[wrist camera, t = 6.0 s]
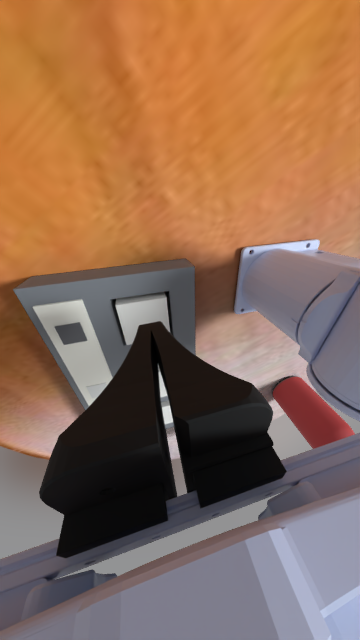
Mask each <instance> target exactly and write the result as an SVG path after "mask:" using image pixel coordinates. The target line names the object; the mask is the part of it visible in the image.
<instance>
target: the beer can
mask: <svg viewBox="0 0 360 640" xmlns="http://www.w3.org/2000/svg"><path fill="white" fill-rule="evenodd" d="M273 397H274V399H275V400H276V401H277V402H278V404H279V405H280V406H281V408H282V409H283V410H284V412H285V413H286V414H287V416H288V417H289V418H290V419H291V421H292V422H293V423H294V425H295V426H296V427H297V428H298V430H299V431H300V433H301V434H302V435H303V436H304V438H305V439H306V440H307V442H308V443H309V444H310V446H311V447H312V448H313V449H315V448H318V447H320V446H323V445H326V444H329V443H332V442H335V441H337V440H340V439H343V438H346V437H349V436H352V435H354V432H353V430H352V429H351V428H350V426H349V425H348V424H347V423H346V422H345V421H344V420H343V419H342V418H341V417H340V416H339V415H338V414H337V413H336V412H335V411H334V410H333V409H332V408H331V407H330V406H329V405H328V404H327V403H326V402H325V401H324V400H323V399H322V398H321V397H320V396H319V395H318V394H317V393H316V392H315V391H314V390H313V389H312V388H311V387H310V386H309V385H308V384H307V383H306V382H305V381H304V380H303V379H301V378H300V377H289V378H286V379H284V380H282V381H281V382H280V383H278V384H277V385H276V387H275V388H274V390H273Z"/></svg>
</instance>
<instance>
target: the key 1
mask: <svg viewBox="0 0 360 640" xmlns="http://www.w3.org/2000/svg"><path fill="white" fill-rule="evenodd" d="M115 306H116V309H117V313H118V316H119V320H120V323H121V327H122V330H123V334H124V338H125V341H126V345H130V344H132V343H133V341H134V338H135V336H136V333H137V330H138V326H139V325H142V324H147V323H153V322H158V321H161V322H162V323H163V324H164V326H165V327H166V329H167V330H168V331H169V332H170V327H169V317H168V308H167V298H166V295H165V293H164V292H157V293H150V294H144V295H137V296H130V297H123V298H116V305H115Z"/></svg>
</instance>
